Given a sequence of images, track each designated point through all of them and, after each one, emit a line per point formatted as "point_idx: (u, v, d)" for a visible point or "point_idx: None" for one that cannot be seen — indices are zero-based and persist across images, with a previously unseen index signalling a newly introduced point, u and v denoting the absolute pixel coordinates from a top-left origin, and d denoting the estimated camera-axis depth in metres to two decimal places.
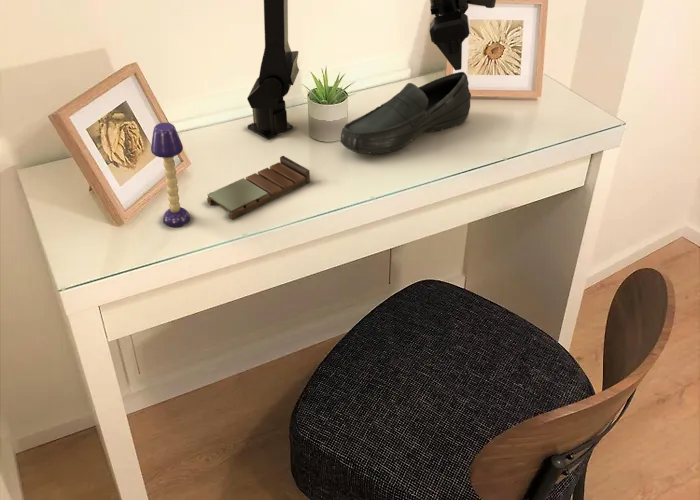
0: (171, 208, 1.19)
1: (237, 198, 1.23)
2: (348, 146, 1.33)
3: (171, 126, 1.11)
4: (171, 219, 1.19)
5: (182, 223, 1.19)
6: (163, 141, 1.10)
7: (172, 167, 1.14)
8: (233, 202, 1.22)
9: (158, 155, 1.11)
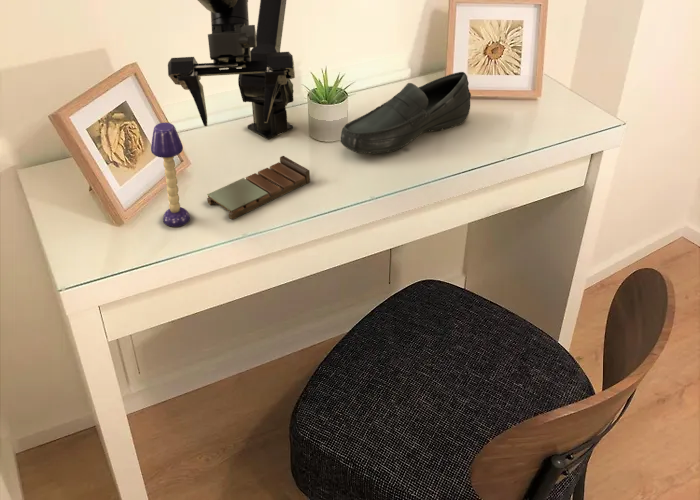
0: (171, 208, 1.19)
1: (237, 198, 1.23)
2: (348, 146, 1.33)
3: (171, 126, 1.11)
4: (171, 219, 1.19)
5: (182, 223, 1.19)
6: (163, 141, 1.10)
7: (172, 167, 1.14)
8: (233, 202, 1.22)
9: (158, 155, 1.11)
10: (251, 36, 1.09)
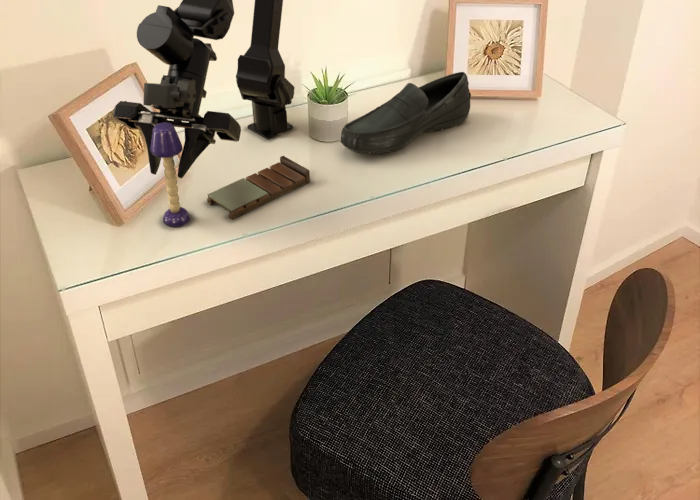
0: (171, 208, 1.19)
1: (237, 198, 1.23)
2: (348, 146, 1.33)
3: (170, 126, 1.11)
4: (171, 219, 1.19)
5: (182, 223, 1.19)
6: (163, 141, 1.10)
7: (172, 167, 1.14)
8: (233, 202, 1.22)
9: (158, 155, 1.11)
10: (184, 91, 1.07)
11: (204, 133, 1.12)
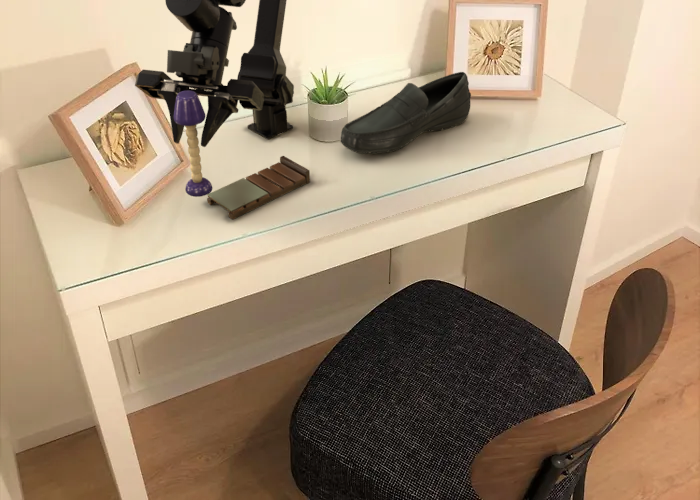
0: (193, 178, 1.18)
1: (237, 198, 1.23)
2: (348, 146, 1.33)
3: (194, 94, 1.10)
4: (193, 189, 1.18)
5: (204, 193, 1.19)
6: (186, 109, 1.09)
7: (195, 136, 1.14)
8: (233, 202, 1.22)
9: (181, 123, 1.11)
10: (208, 58, 1.07)
11: (227, 101, 1.11)
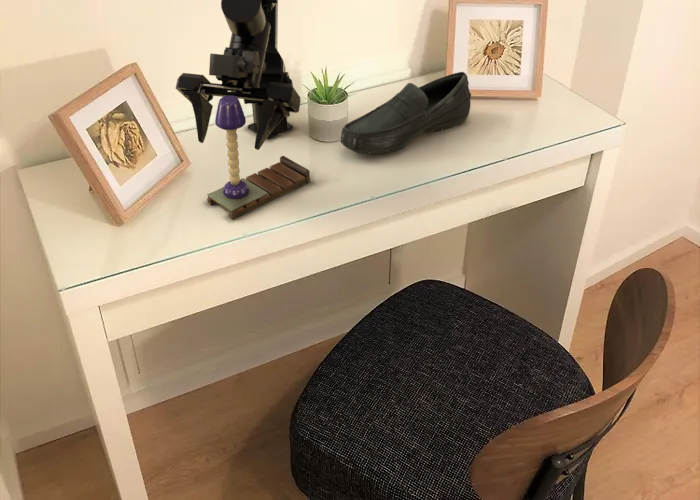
0: (232, 180, 1.22)
1: None
2: (348, 146, 1.33)
3: (236, 99, 1.14)
4: (231, 191, 1.22)
5: (242, 195, 1.22)
6: (228, 114, 1.13)
7: (235, 140, 1.17)
8: (233, 202, 1.22)
9: (223, 127, 1.14)
10: (250, 61, 1.10)
11: (282, 105, 1.14)
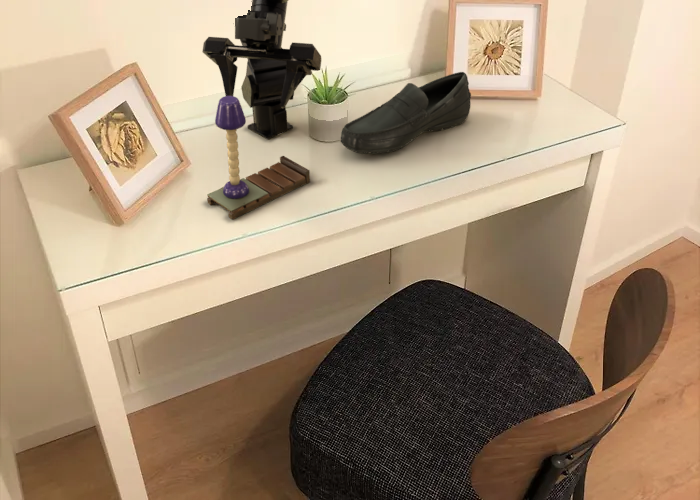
0: (231, 180, 1.22)
1: None
2: (348, 146, 1.33)
3: (236, 99, 1.14)
4: (231, 191, 1.22)
5: (242, 195, 1.22)
6: (228, 114, 1.13)
7: (235, 140, 1.17)
8: (233, 202, 1.22)
9: (223, 127, 1.14)
10: (273, 24, 1.16)
11: (304, 64, 1.20)
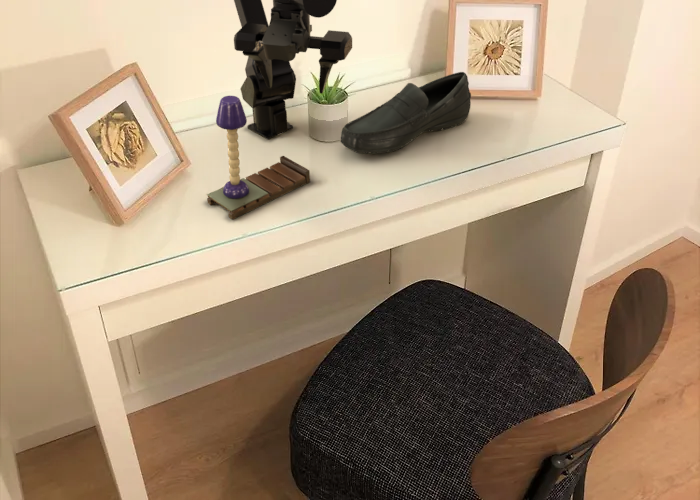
0: (232, 180, 1.22)
1: None
2: (348, 146, 1.33)
3: (237, 99, 1.14)
4: (231, 191, 1.22)
5: (242, 195, 1.22)
6: (229, 113, 1.13)
7: (235, 139, 1.17)
8: (233, 202, 1.22)
9: (224, 127, 1.14)
10: (301, 46, 1.16)
11: (337, 61, 1.22)
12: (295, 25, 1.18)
